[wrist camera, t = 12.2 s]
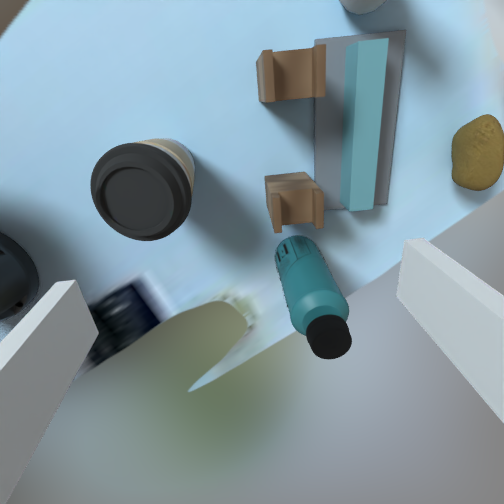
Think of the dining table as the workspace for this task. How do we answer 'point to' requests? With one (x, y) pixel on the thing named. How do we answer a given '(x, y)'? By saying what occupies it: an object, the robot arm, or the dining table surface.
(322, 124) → the mat
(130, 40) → the dining table surface
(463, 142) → the potato
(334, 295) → the beverage bottle
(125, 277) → the dining table surface
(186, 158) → the coffee cup
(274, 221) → the post
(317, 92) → the post
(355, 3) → the salt shaker
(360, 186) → the rail
